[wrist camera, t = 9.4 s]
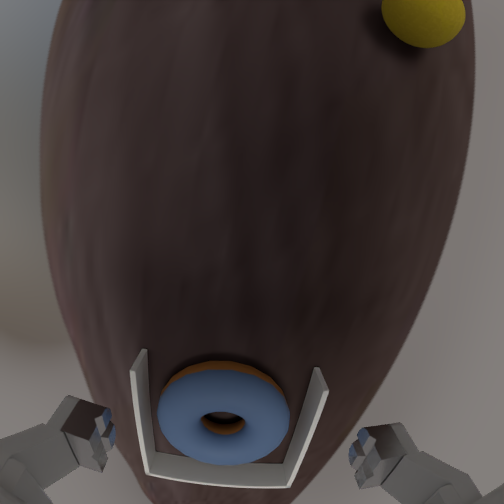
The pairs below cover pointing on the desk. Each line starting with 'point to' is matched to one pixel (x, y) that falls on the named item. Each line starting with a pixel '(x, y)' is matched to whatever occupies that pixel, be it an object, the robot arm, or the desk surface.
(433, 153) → the desk surface
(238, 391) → the doughnut
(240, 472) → the box
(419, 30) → the lemon
